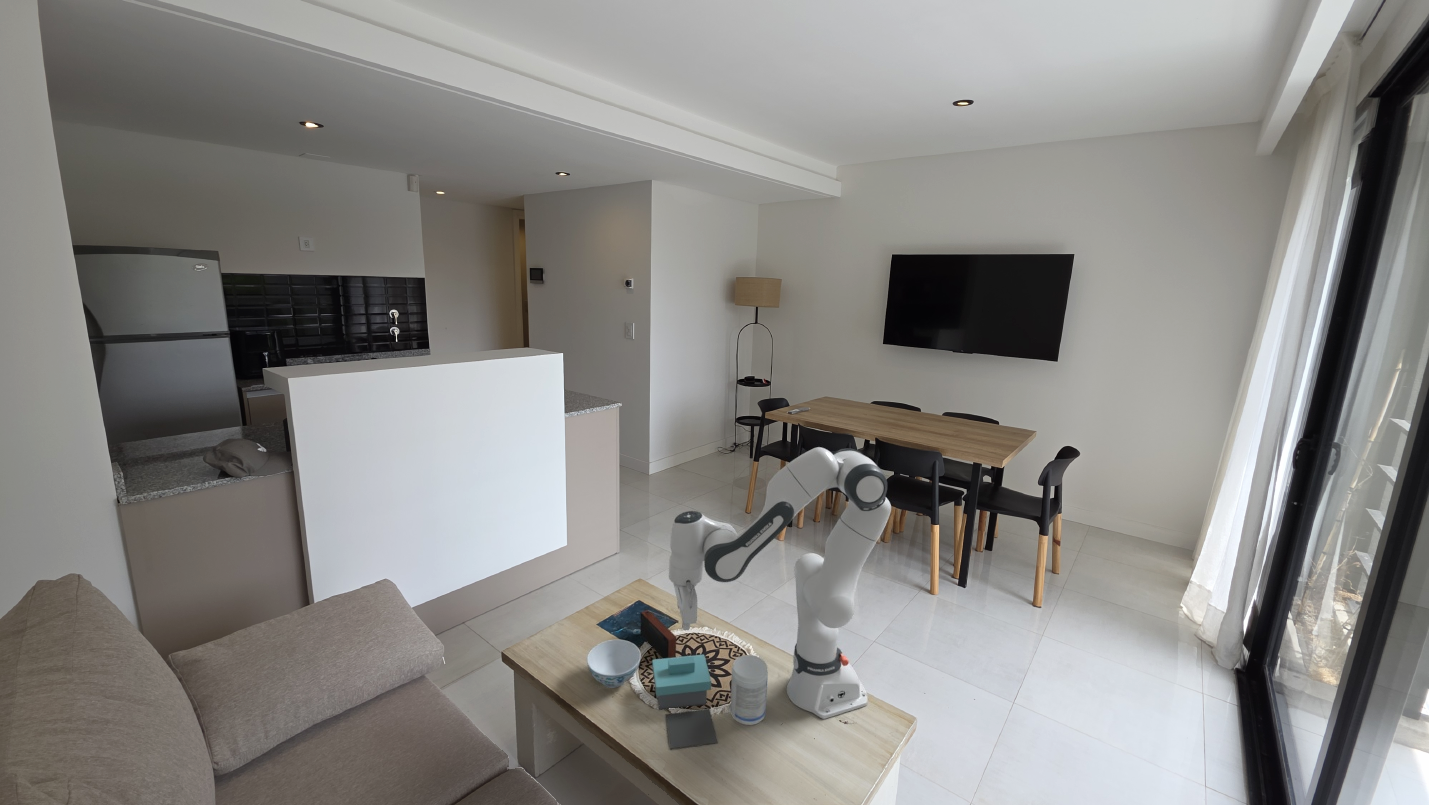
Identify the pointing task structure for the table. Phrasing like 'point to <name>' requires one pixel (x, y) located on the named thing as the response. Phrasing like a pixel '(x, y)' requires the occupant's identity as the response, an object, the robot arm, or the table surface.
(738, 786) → the table surface
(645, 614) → the radio
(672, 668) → the lid
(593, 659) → the chinaware
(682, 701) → the storage box
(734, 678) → the supplement tub
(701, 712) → the mat
